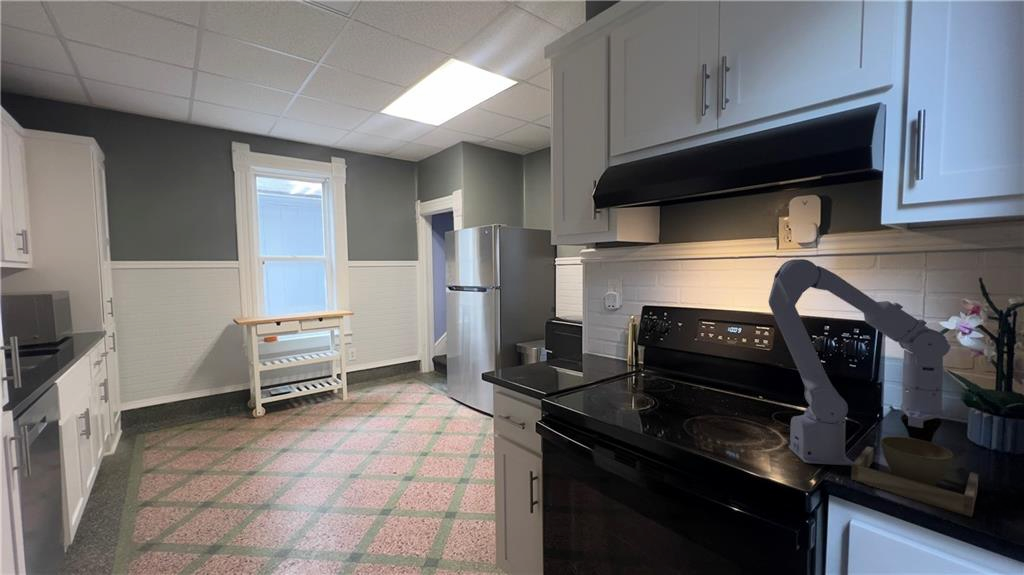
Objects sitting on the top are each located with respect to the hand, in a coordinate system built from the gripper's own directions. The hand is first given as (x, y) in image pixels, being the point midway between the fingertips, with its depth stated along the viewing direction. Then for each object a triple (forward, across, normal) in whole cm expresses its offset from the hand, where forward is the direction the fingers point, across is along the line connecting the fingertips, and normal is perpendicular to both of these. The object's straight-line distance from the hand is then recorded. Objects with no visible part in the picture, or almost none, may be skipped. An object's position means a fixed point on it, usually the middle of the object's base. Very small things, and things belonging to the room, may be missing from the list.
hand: (920, 452), depth 84 cm
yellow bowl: (+4, -6, 0) cm, 7 cm away
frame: (+4, -7, 0) cm, 8 cm away
